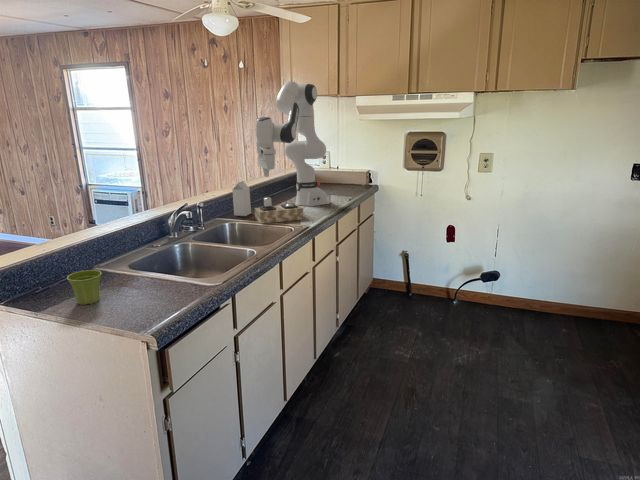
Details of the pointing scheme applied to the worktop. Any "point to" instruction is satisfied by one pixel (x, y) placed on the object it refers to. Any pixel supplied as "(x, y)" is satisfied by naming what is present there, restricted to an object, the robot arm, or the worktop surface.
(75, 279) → the plant pot
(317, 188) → the robot arm
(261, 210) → the block
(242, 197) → the milk carton
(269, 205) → the peg
